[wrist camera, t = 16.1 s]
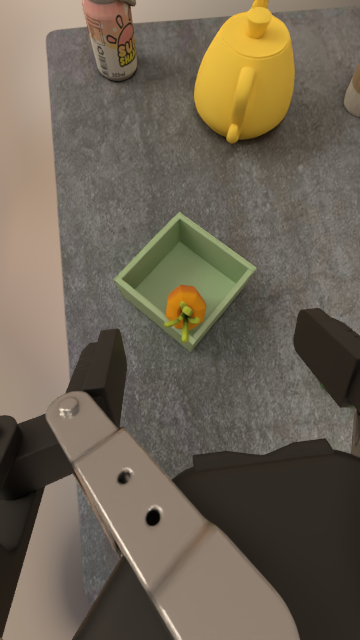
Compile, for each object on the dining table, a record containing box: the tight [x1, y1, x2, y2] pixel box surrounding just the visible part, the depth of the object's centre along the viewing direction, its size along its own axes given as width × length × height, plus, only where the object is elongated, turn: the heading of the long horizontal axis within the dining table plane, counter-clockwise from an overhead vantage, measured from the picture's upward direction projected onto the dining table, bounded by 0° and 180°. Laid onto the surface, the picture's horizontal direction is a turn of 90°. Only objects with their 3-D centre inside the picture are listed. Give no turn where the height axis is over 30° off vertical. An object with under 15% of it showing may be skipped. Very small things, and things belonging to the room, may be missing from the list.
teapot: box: [194, 0, 295, 143], centre depth 45 cm, size 25×18×14 cm
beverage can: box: [82, 0, 137, 81], centre depth 48 cm, size 9×8×12 cm
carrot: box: [164, 285, 206, 343], centre depth 33 cm, size 5×5×15 cm
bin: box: [114, 212, 257, 352], centre depth 38 cm, size 14×14×7 cm
